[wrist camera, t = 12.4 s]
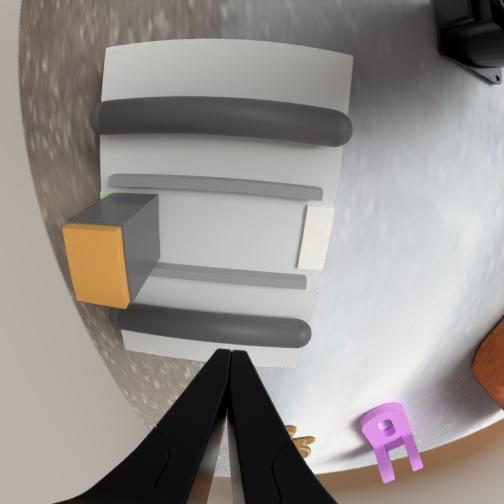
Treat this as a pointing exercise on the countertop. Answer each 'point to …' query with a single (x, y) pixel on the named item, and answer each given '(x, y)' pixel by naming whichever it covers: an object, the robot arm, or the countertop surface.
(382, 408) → the bracket
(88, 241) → the toggle
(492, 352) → the bread
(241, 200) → the panel
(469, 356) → the countertop surface
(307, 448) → the cookie
